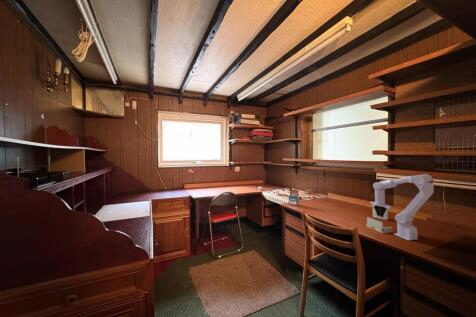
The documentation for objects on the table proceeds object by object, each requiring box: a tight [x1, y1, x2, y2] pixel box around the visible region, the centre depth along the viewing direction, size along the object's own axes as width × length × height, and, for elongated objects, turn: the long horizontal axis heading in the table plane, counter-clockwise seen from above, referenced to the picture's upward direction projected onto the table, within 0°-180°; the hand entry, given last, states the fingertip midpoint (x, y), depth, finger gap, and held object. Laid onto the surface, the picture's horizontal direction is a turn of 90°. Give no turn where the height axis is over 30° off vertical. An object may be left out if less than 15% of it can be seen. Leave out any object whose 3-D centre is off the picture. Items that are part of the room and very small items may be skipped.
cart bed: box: [366, 223, 393, 234], centre depth 135 cm, size 13×8×4 cm, turn 10°
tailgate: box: [366, 217, 384, 230], centre depth 135 cm, size 12×1×5 cm, turn 10°
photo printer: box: [372, 205, 389, 221], centre depth 156 cm, size 10×4×12 cm, turn 39°
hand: (380, 216), depth 135 cm, fingers closed
